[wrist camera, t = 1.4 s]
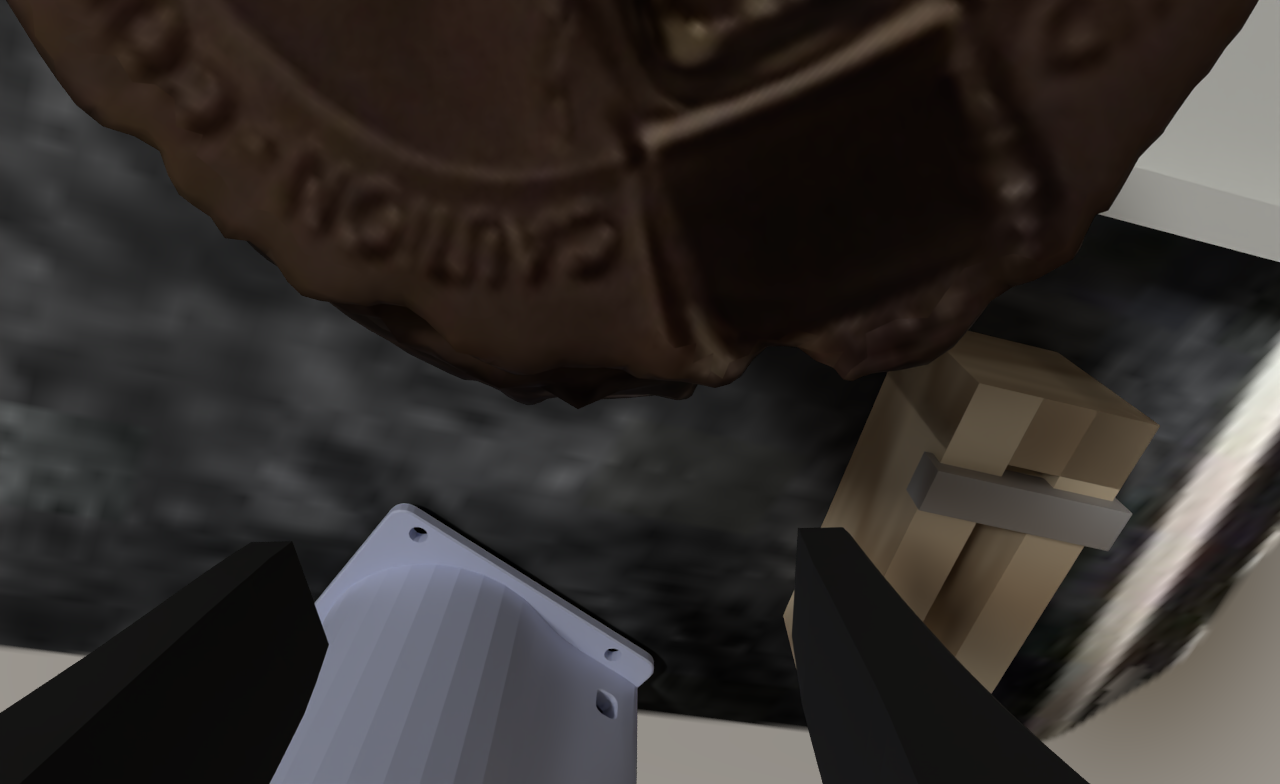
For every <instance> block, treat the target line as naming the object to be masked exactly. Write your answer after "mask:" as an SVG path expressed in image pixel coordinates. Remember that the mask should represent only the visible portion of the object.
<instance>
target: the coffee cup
mask: <svg viewBox="0 0 1280 784" xmlns="http://www.w3.org/2000/svg"><path fill="white" fill-rule="evenodd" d="M6 1H7V2H8V4H9V6H10V7H11V9H12V10H13V12H14V14H15V15H16V17H17V18H18V20H19V22H20V23H21V25H22V27H23V28H24V30H25V31H26V33H27V35H28V36H29V38H30V39H31V41H32V43H33V44H34V46H35V48H36V49H37V51H38V52H39V54H40V55H41V57H42V58H43V60H44V61H45V63H46V64H47V66H48V67H49V68H50V70H51V71H52V73H53V74H54V76H55V77H56V79H57V80H58V81H59V83H60V84H61V85H62V87H63V88H64V89H65V91H66V92H67V93H68V95H69V96H70V97H71V99H72V100H73V101H74V103H75V104H76V105H77V106H78V107H80V108H81V109H82V110H83V111H84V112H86V113H87V114H88V115H89V116H91V117H92V118H93V119H94V120H96V121H97V122H98V123H99V124H101V125H102V126H104V127H107V128H110V129H113V130H116V131H120V132H123V133H126V134H129V135H132V136H135V137H137V138H138V139H140V140H142V141H144V142H145V143H147V144H149V145H150V146H152V147H154V148H155V149H157V150H159V151H160V153H161V156H162V159H163V162H164V164H165V167H166V170H167V173H168V176H169V177H170V179H171V181H172V183H173V185H174V186H175V188H176V190H177V192H178V193H179V195H180V196H182V197H183V198H184V199H186V200H187V201H188V202H190V203H191V204H192V205H194V206H195V207H197V208H198V209H200V210H201V211H202V212H204V213H205V214H207V215H208V216H210V217H211V218H212V220H213V221H214V223H215V224H216V226H217V227H218V229H219V230H220V231H221V233H222V234H223V236H224V237H225V238H229V239H237V240H245V241H247V242H248V243H249V244H250V245H251V246H252V247H253V248H254V249H255V250H256V251H257V252H259V253H260V254H261V255H262V256H263V257H265V258H266V259H267V260H269V261H270V262H272V263H273V264H275V265H276V266H278V268H279V269H280V271H281V272H282V274H283V275H284V277H285V278H286V280H287V281H288V282H289V283H290V284H291V285H292V286H293V287H294V288H295V289H296V290H297V291H298V292H299V293H300V294H301V295H302V296H306V297H309V298H312V299H316V300H320V301H327V302H330V303H331V304H332V305H334V306H335V307H336V308H337V309H339V310H340V311H341V312H343V313H344V314H345V315H347V316H348V317H350V318H351V319H353V320H354V321H356V322H358V323H359V324H361V325H362V326H364V327H366V328H367V329H369V330H370V331H372V332H374V333H376V334H378V335H379V336H381V337H383V338H385V339H387V340H389V341H390V342H392V343H393V344H395V345H396V346H398V347H399V348H401V349H402V350H404V351H406V352H407V353H409V354H411V355H413V356H415V357H417V358H419V359H421V360H423V361H425V362H427V363H429V364H431V365H433V366H435V367H437V368H439V369H441V370H443V371H445V372H447V373H450V374H452V375H454V376H457V377H459V378H461V379H464V380H474V381H479V382H481V383H484V384H487V385H489V386H492V387H494V388H496V389H498V390H500V391H501V392H503V393H504V394H505V395H507V396H508V397H510V398H512V399H513V400H515V401H517V402H520V403H523V404H525V405H533V404H536V403H540V402H542V401H544V400H546V399H548V398H555V397H558V398H560V399H562V400H564V401H565V402H567V403H569V404H570V405H572V406H574V407H575V408H577V409H579V408H581V407H584V406H586V405H588V404H591V403H593V402H595V401H598V400H600V399H615V398H631V397H642V396H653V395H656V396H661V397H665V398H670V399H674V400H681V399H687V398H689V397H690V396H692V394H693V392H694V390H695V388H696V386H697V384H700V385H705V386H709V387H714V388H716V387H720V386H724V385H727V384H730V383H732V382H733V381H735V380H736V379H738V378H739V377H740V376H741V375H742V374H743V373H744V371H745V370H746V369H747V367H748V366H749V365H750V363H751V362H752V361H753V359H754V358H755V357H756V356H757V355H758V354H759V353H761V352H762V351H763V350H764V349H765V348H766V347H767V346H788V347H798V348H799V349H801V350H802V351H803V352H805V353H806V354H807V355H809V356H810V357H811V358H813V359H814V360H815V361H818V362H820V363H823V364H825V365H828V366H831V367H833V368H834V369H835V370H836V371H837V373H838V374H839V375H840V376H841V377H842V378H843V379H844V380H849V381H853V380H856V379H858V378H860V377H863V376H865V375H869V374H872V373H880V372H889V371H898V370H904V369H908V368H913V367H918V366H923V365H928V364H930V363H931V362H932V361H934V360H935V359H937V358H938V357H940V356H941V355H943V354H944V353H945V352H947V351H948V350H950V349H951V348H953V347H954V346H955V345H956V344H957V343H958V341H959V340H960V339H961V338H962V337H963V336H964V334H965V333H966V332H967V331H968V330H969V329H970V328H971V326H972V325H973V324H974V323H975V322H976V321H977V319H978V318H979V317H980V315H981V314H982V312H983V311H984V310H985V308H986V307H987V305H988V304H989V303H990V301H992V300H993V299H995V298H996V297H998V296H999V295H1001V294H1002V293H1004V292H1005V291H1007V290H1009V289H1010V288H1012V287H1013V286H1017V285H1020V284H1024V283H1027V282H1030V281H1034V280H1036V279H1038V278H1039V277H1041V276H1043V275H1045V274H1047V273H1049V272H1050V271H1052V270H1054V269H1056V268H1058V267H1059V266H1061V265H1063V264H1065V263H1067V262H1068V261H1070V260H1072V259H1073V258H1074V256H1075V255H1076V254H1077V252H1078V251H1079V249H1080V248H1081V247H1082V243H1083V240H1084V237H1085V235H1086V233H1087V231H1088V229H1089V227H1090V225H1091V223H1092V221H1093V219H1094V217H1095V215H1097V214H1100V213H1103V212H1106V211H1108V210H1109V209H1110V207H1111V206H1112V204H1113V202H1114V201H1115V199H1116V198H1117V196H1118V194H1119V193H1120V191H1121V189H1122V188H1123V186H1124V184H1125V182H1126V180H1127V179H1128V177H1129V175H1130V173H1131V171H1132V170H1133V168H1134V166H1135V164H1136V163H1137V161H1138V159H1139V157H1140V156H1141V155H1142V154H1143V153H1144V152H1145V151H1146V150H1147V149H1148V148H1149V147H1150V146H1151V145H1152V144H1153V143H1154V142H1155V141H1156V140H1157V139H1158V138H1159V137H1160V136H1161V135H1162V134H1163V133H1164V131H1165V129H1166V127H1167V126H1168V125H1169V123H1170V122H1171V120H1172V119H1173V117H1174V116H1175V114H1176V113H1177V111H1178V110H1179V109H1180V107H1181V106H1182V104H1183V103H1184V102H1185V100H1186V99H1187V97H1188V96H1189V95H1190V93H1191V92H1192V91H1193V89H1194V88H1195V87H1196V86H1197V85H1198V84H1199V83H1200V82H1201V81H1202V80H1203V79H1204V78H1205V77H1206V76H1207V75H1208V74H1209V73H1210V71H1211V70H1212V68H1213V66H1214V65H1215V63H1216V62H1217V60H1218V59H1219V57H1220V56H1221V54H1222V53H1223V51H1224V50H1225V48H1226V47H1227V46H1228V45H1229V44H1230V43H1231V41H1232V40H1233V39H1234V38H1235V37H1236V36H1237V34H1238V33H1239V32H1240V31H1241V30H1242V28H1243V26H1244V25H1245V23H1246V21H1247V20H1248V18H1249V16H1250V15H1251V13H1252V11H1253V10H1254V8H1255V6H1256V5H1257V3H1258V1H1259V0H6Z"/></svg>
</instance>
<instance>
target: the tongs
mask: <svg viewBox="0 0 1280 784" xmlns="http://www.w3.org/2000/svg"><path fill="white" fill-rule="evenodd" d="M1159 427H1160V425H1158V424H1157V423H1156V422H1154V421H1153V420H1151V419H1150V418H1149V417H1147V416H1146V415H1144V414H1143V413H1142V412H1140V411H1139V410H1137V409H1136V408H1135V407H1133V406H1132V405H1130V404H1129V403H1128V402H1126V401H1125V400H1123V399H1122V398H1121V397H1119V396H1118V395H1117V394H1115V393H1114V392H1112V391H1111V390H1110V389H1108V388H1107V387H1105V386H1104V385H1103V384H1101V383H1100V382H1098V381H1097V380H1096V379H1094V378H1093V377H1091V376H1090V375H1089V374H1087V373H1086V372H1084V371H1083V370H1082V369H1080V368H1079V367H1077V366H1076V365H1075V364H1073V363H1072V362H1070V361H1069V360H1068V359H1066V358H1065V357H1063V356H1062V355H1061V354H1059V353H1058V352H1054V351H1050V350H1046V349H1042V348H1038V347H1033V346H1029V345H1025V344H1021V343H1017V342H1013V341H1009V340H1005V339H1001V338H996V337H992V336H988V335H984V334H980V333H976V332H972V331H967V332H966V333H965V334H964V336H963V337H962V338H961V339H960V340H959V341H958V343H957V344H956V345H955V346H954V347H953V348H951V349H950V350H948V351H947V352H945V353H944V354H943V355H941V356H940V357H938V358H937V359H935V360H934V361H932V362H931V363H930V364H928V365H923V366H918V367H913V368H908V369H904V370H898V371H889V372H887V375H886V377H885V379H884V382H883V384H882V386H881V389H880V391H879V393H878V396H877V398H876V400H875V403H874V405H873V407H872V410H871V412H870V414H869V417H868V419H867V421H866V424H865V426H864V428H863V431H862V433H861V435H860V438H859V440H858V442H857V445H856V447H855V449H854V452H853V454H852V456H851V459H850V461H849V463H848V466H847V468H846V470H845V473H844V475H843V477H842V480H841V482H840V484H839V487H838V489H837V491H836V494H835V496H834V498H833V501H832V503H831V505H830V508H829V510H828V512H827V515H826V517H825V519H824V522H823V524H822V526H821V528H829V527H843V528H844V529H845V530H846V531H847V532H848V533H850V535H851V536H852V537H853V538H854V540H855V541H856V542H857V544H858V545H859V546H860V547H861V549H862V550H863V551H864V553H865V554H866V555H867V556H868V558H869V559H870V560H871V561H872V563H873V564H874V565H875V566H876V568H877V569H878V570H879V571H880V572H881V574H882V575H883V576H884V577H885V579H886V580H887V581H888V582H889V583H890V585H891V586H892V587H893V588H894V589H895V591H896V592H897V593H898V594H899V595H900V597H901V598H902V599H903V600H904V601H905V602H906V603H907V605H908V606H909V607H910V608H911V609H912V610H913V612H914V613H915V614H916V615H917V616H918V617H919V618H920V619H921V620H922V622H923V623H924V624H925V625H926V626H927V627H928V628H929V629H930V630H931V631H932V633H933V634H934V635H935V636H936V637H937V638H938V639H939V640H940V641H941V642H942V644H943V645H944V646H945V647H946V648H947V649H948V650H949V651H950V652H951V653H952V654H953V655H954V657H955V658H956V659H957V660H958V661H959V662H960V663H961V664H962V665H963V666H964V667H965V668H966V669H967V670H968V671H969V672H970V673H971V674H972V675H973V676H974V677H975V678H976V679H977V680H978V681H979V682H980V683H981V684H982V685H983V686H984V687H985V688H986V689H987V690H988V691H989V692H990V693H991V694H992V692H993V691H994V689H995V687H996V686H997V684H998V683H999V681H1000V679H1001V678H1002V676H1003V675H1004V673H1005V671H1006V670H1007V668H1008V667H1009V665H1010V664H1011V662H1012V660H1013V659H1014V657H1015V656H1016V654H1017V652H1018V651H1019V649H1020V648H1021V646H1022V644H1023V643H1024V641H1025V640H1026V638H1027V637H1028V635H1029V633H1030V632H1031V630H1032V629H1033V627H1034V625H1035V624H1036V622H1037V621H1038V619H1039V617H1040V616H1041V614H1042V613H1043V611H1044V610H1045V608H1046V606H1047V605H1048V603H1049V602H1050V600H1051V598H1052V597H1053V595H1054V594H1055V592H1056V590H1057V589H1058V587H1059V586H1060V584H1061V582H1062V581H1063V579H1064V578H1065V576H1066V575H1067V573H1068V571H1069V570H1070V568H1071V567H1072V565H1073V563H1074V562H1075V560H1076V559H1077V557H1078V555H1079V554H1080V552H1081V551H1082V549H1083V548H1084V546H1087V547H1091V548H1096V549H1101V550H1105V551H1109V549H1110V548H1111V546H1112V545H1113V543H1114V542H1115V540H1116V538H1117V537H1118V535H1119V534H1120V532H1121V531H1122V529H1123V528H1124V526H1125V525H1126V523H1127V522H1128V520H1129V518H1130V517H1131V515H1132V513H1131V512H1130V511H1129V510H1128V509H1127V508H1126V507H1125V506H1123V505H1122V504H1121V503H1120V502H1119V501H1118V500H1117V499H1116V498H1115V497H1116V495H1117V493H1118V492H1119V490H1120V489H1121V487H1122V486H1123V484H1124V482H1125V481H1126V479H1127V478H1128V476H1129V474H1130V473H1131V471H1132V470H1133V468H1134V466H1135V465H1136V463H1137V462H1138V460H1139V459H1140V457H1141V455H1142V454H1143V452H1144V451H1145V449H1146V447H1147V446H1148V444H1149V443H1150V441H1151V439H1152V438H1153V436H1154V435H1155V433H1156V432H1157V430H1158V428H1159ZM793 605H794V592H793V594H792V596H791V599H790V601H789V603H788V606H787V608H786V610H785V613H784V615H783V617H784V621H785V625H786V629H787V633H788V637H789V641H790V645H791V649H792V653H793V657H794V661H795V655H794V649H793V642H792V622H793ZM795 665H796V662H795Z"/></svg>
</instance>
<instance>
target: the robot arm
mask: <svg viewBox="0 0 1280 784" xmlns="http://www.w3.org/2000/svg"><path fill="white" fill-rule="evenodd" d="M414 527H420V528H423V529H424V530H425V531H426V532H427V534H421V533H418V532H417V531H415V530H414ZM792 642H793V649H794V655H795V662H796V669H797V676H798V682H799V688H800V694H801V700H802V707H803V711H804V714H805V718H806V722H807V726H808V730H809V734H810V737H811V741H812V745H813V749H814V752H815V756H816V760H817V764H818V768H819V771H820V775H821V779H822V783H823V784H1090V783H1088V782H1087V781H1086V780H1085V779H1084V778H1082V777H1081V776H1080V775H1079V774H1078V773H1077V772H1075V771H1074V770H1073V769H1072V768H1071V767H1070V766H1069V765H1067V764H1066V763H1065V762H1064V761H1063V760H1062V759H1061V758H1060V757H1058V756H1057V755H1056V754H1055V753H1054V752H1052V751H1051V750H1050V749H1049V748H1048V747H1047V746H1046V745H1045V744H1044V743H1042V742H1041V741H1040V740H1039V739H1038V738H1037V737H1036V736H1035V735H1034V734H1033V733H1032V732H1030V731H1029V730H1028V729H1027V728H1026V727H1025V726H1024V725H1023V724H1022V723H1021V722H1020V721H1019V720H1018V719H1017V718H1016V717H1014V716H1013V715H1012V714H1011V713H1010V712H1009V711H1008V710H1007V709H1006V708H1005V707H1004V706H1003V705H1002V704H1001V703H1000V702H999V701H998V700H997V699H996V698H995V697H994V696H993V695H992V694H991V693H990V692H989V691H988V690H987V689H986V688H985V687H984V686H983V685H982V684H981V683H980V682H979V681H978V680H977V679H976V678H975V677H974V676H973V675H972V674H971V673H970V672H969V671H968V670H967V669H966V668H965V667H964V666H963V665H962V664H961V663H960V662H959V661H958V660H957V659H956V658H955V657H954V655H953V654H952V653H951V652H950V651H949V650H948V649H947V648H946V647H945V646H944V645H943V644H942V642H941V641H940V640H939V639H938V638H937V637H936V636H935V635H934V634H933V633H932V631H931V630H930V629H929V628H928V627H927V626H926V625H925V624H924V623H923V622H922V620H921V619H920V618H919V617H918V616H917V615H916V614H915V613H914V612H913V610H912V609H911V608H910V607H909V606H908V605H907V603H906V602H905V601H904V600H903V599H902V598H901V597H900V595H899V594H898V593H897V592H896V591H895V589H894V588H893V587H892V586H891V585H890V583H889V582H888V581H887V580H886V579H885V577H884V576H883V575H882V574H881V572H880V571H879V570H878V569H877V568H876V566H875V565H874V564H873V563H872V561H871V560H870V559H869V558H868V556H867V555H866V554H865V553H864V551H863V550H862V549H861V547H860V546H859V545H858V544H857V542H856V541H855V540H854V538H853V537H852V536H851V535H850V533H848V532H847V531H846V530H845V529H844V528H843V527H829V528H798V538H797V555H796V572H795V588H794V605H793V622H792ZM608 649H617V650H618V651H614V652H612V651H609V650H608ZM653 671H654V660H653V657H652V656H651V655H650V654H649V653H648V652H646V651H645V650H643V649H641V648H640V647H638V646H637V645H635V644H634V643H632V642H630V641H629V640H627V639H626V638H624V637H622V636H621V635H619V634H618V633H616V632H614V631H613V630H611V629H610V628H608V627H607V626H605V625H603V624H602V623H600V622H599V621H597V620H595V619H594V618H592V617H591V616H589V615H587V614H586V613H584V612H583V611H581V610H580V609H578V608H576V607H575V606H573V605H572V604H570V603H568V602H567V601H565V600H564V599H562V598H560V597H559V596H557V595H556V594H554V593H553V592H551V591H549V590H548V589H546V588H545V587H543V586H541V585H540V584H538V583H537V582H535V581H533V580H532V579H530V578H529V577H527V576H526V575H524V574H522V573H521V572H519V571H518V570H516V569H514V568H513V567H511V566H510V565H508V564H506V563H505V562H503V561H502V560H500V559H499V558H497V557H495V556H494V555H492V554H491V553H489V552H487V551H486V550H484V549H483V548H481V547H479V546H478V545H476V544H475V543H473V542H472V541H470V540H468V539H467V538H465V537H464V536H462V535H460V534H459V533H457V532H456V531H454V530H452V529H451V528H449V527H448V526H446V525H445V524H443V523H441V522H440V521H438V520H437V519H435V518H433V517H432V516H430V515H429V514H427V513H425V512H424V511H422V510H421V509H419V508H418V507H416V506H413V505H411V504H405V503H402V504H398V505H396V506H394V507H393V508H392V509H391V510H390V511H389V512H388V514H387V515H386V516H385V517H384V519H383V520H382V521H381V522H380V523H379V525H378V526H377V527H376V528H375V530H374V531H373V532H372V533H371V534H370V536H369V537H368V538H367V539H366V541H365V542H364V543H363V544H362V545H361V547H360V548H359V549H358V550H357V552H356V553H355V554H354V555H353V556H352V558H351V559H350V560H349V561H348V563H347V564H346V565H345V566H344V567H343V569H342V570H341V571H340V572H339V574H338V575H337V576H336V577H335V578H334V580H333V581H332V582H331V583H330V585H329V586H328V587H327V588H326V589H325V591H324V592H323V593H322V594H321V596H320V597H319V598H318V599H317V600H316V602H315V603H314V601H313V598H312V595H311V593H310V590H309V587H308V584H307V581H306V579H305V576H304V573H303V570H302V567H301V565H300V562H299V559H298V556H297V553H296V551H295V548H294V545H293V542H292V541H286V542H251V543H249V544H248V545H246V546H245V547H243V548H241V549H240V550H238V551H236V552H235V553H233V554H232V555H230V556H229V557H227V558H226V559H224V560H223V561H221V562H220V563H218V564H217V565H215V566H214V567H212V568H211V569H210V570H208V571H207V572H205V573H204V574H202V575H201V576H199V577H198V578H197V579H195V580H194V581H192V582H191V583H190V584H188V585H187V586H185V587H184V588H182V589H181V590H180V591H178V592H177V593H175V594H174V595H173V596H171V597H170V598H168V599H167V600H166V601H164V602H163V603H161V604H160V605H159V606H157V607H156V608H154V609H153V610H151V611H150V612H149V613H147V614H146V615H144V616H143V617H141V618H140V619H139V620H137V621H136V622H134V623H133V624H132V625H130V626H129V627H127V628H126V629H124V630H123V631H122V632H120V633H119V634H117V635H116V636H115V637H113V638H112V639H110V640H109V641H107V642H106V643H105V644H103V645H102V646H100V647H99V648H97V649H96V650H95V651H93V652H92V653H90V654H89V655H87V656H86V657H84V658H83V659H81V660H80V661H78V662H77V663H75V664H73V665H72V666H70V667H69V668H67V669H66V670H64V671H63V672H61V673H60V674H58V675H57V676H56V677H54V678H53V679H51V680H49V681H48V682H46V683H45V684H43V685H42V686H40V687H39V688H38V689H36V690H34V691H33V692H31V693H30V694H29V695H27V696H25V697H24V698H22V699H21V700H19V701H18V702H16V703H15V704H13V705H12V706H10V707H9V708H7V709H6V710H4V711H3V712H1V713H0V784H636V778H637V777H636V776H637V770H636V769H637V694H638V689H637V688H638V687H639V686H640V685H641V684H643V683H644V682H645V681H646V680H647V679H648V678H649V677H650V676H651V675H652V674H653Z"/></svg>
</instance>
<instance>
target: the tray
mask: <svg viewBox="0 0 1280 784" xmlns="http://www.w3.org/2000/svg"><path fill="white" fill-rule="evenodd" d="M1100 215H1103V216H1107V217H1111V218H1115V219H1119V220H1122V221H1126V222H1130V223H1134V224H1137V225H1141V226H1145V227H1149V228H1153V229H1156V230H1160V231H1164V232H1168V233H1171V234H1175V235H1179V236H1183V237H1187V238H1190V239H1194V240H1198V241H1202V242H1205V243H1209V244H1213V245H1217V246H1221V247H1224V248H1228V249H1232V250H1236V251H1239V252H1243V253H1247V254H1251V255H1254V256H1258V257H1262V258H1266V259H1270V260H1273V261H1277V262H1280V0H1259V1H1258V3H1257V5H1256V6H1255V8H1254V10H1253V11H1252V13H1251V15H1250V16H1249V18H1248V20H1247V21H1246V23H1245V25H1244V26H1243V28H1242V30H1241V31H1240V32H1239V33H1238V34H1237V36H1236V37H1235V38H1234V39H1233V40H1232V41H1231V43H1230V44H1229V45H1228V46H1227V47H1226V48H1225V50H1224V51H1223V53H1222V54H1221V56H1220V57H1219V59H1218V60H1217V62H1216V63H1215V65H1214V66H1213V68H1212V70H1211V71H1210V73H1209V74H1208V75H1207V76H1206V77H1205V78H1204V79H1203V80H1202V81H1201V82H1200V83H1199V84H1198V85H1197V86H1196V87H1195V88H1194V89H1193V91H1192V92H1191V93H1190V95H1189V96H1188V97H1187V99H1186V100H1185V102H1184V103H1183V104H1182V106H1181V107H1180V109H1179V110H1178V111H1177V113H1176V114H1175V116H1174V117H1173V119H1172V120H1171V122H1170V123H1169V125H1168V126H1167V127H1166V129H1165V131H1164V133H1163V134H1162V135H1161V136H1160V137H1159V138H1158V139H1157V140H1156V141H1155V142H1154V143H1153V144H1152V145H1151V146H1150V147H1149V148H1148V149H1147V150H1146V151H1145V152H1144V153H1143V154H1142V155H1141V156H1140V157H1139V159H1138V161H1137V163H1136V164H1135V166H1134V168H1133V170H1132V171H1131V173H1130V175H1129V177H1128V179H1127V180H1126V182H1125V184H1124V186H1123V188H1122V189H1121V191H1120V193H1119V194H1118V196H1117V198H1116V199H1115V201H1114V202H1113V204H1112V206H1111V207H1110V209H1109V210H1108V211H1106V212H1103V213H1100Z"/></svg>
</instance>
